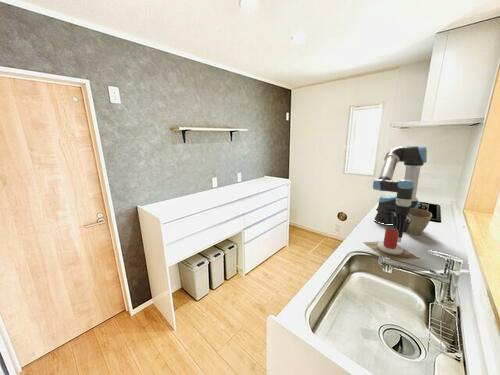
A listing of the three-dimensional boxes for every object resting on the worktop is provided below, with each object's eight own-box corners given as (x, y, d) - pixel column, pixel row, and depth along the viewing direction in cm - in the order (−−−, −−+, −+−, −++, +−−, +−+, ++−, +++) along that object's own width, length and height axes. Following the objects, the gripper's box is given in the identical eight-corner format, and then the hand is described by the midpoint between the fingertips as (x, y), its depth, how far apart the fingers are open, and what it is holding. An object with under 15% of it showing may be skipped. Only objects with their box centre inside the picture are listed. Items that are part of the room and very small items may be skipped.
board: (362, 243, 134) (363, 233, 133) (391, 243, 136) (392, 233, 134) (386, 261, 113) (388, 249, 111) (420, 260, 114) (422, 248, 113)
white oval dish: (400, 257, 115) (401, 249, 114) (374, 249, 124) (375, 241, 123) (406, 246, 128) (407, 238, 127) (382, 239, 137) (383, 232, 137)
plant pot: (404, 235, 151) (407, 216, 145) (401, 225, 163) (404, 207, 158) (430, 238, 144) (435, 218, 139) (425, 228, 156) (429, 209, 151)
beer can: (385, 243, 128) (387, 225, 126) (397, 246, 123) (400, 228, 121) (381, 246, 124) (384, 228, 122) (394, 250, 119) (397, 231, 117)
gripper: (389, 202, 129) (384, 237, 133) (406, 208, 117) (400, 246, 121) (400, 202, 130) (395, 237, 134) (418, 207, 117) (412, 246, 121)
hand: (398, 241), depth 127 cm, fingers closed
